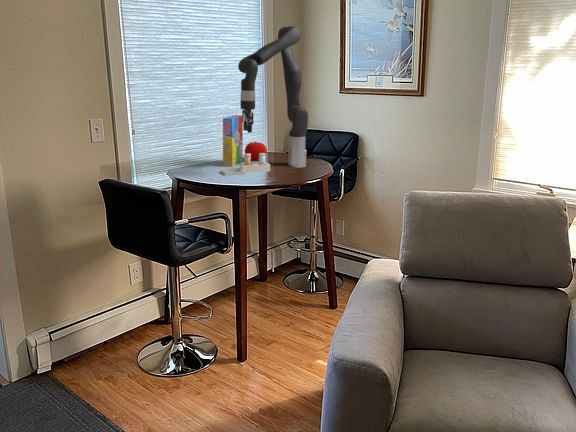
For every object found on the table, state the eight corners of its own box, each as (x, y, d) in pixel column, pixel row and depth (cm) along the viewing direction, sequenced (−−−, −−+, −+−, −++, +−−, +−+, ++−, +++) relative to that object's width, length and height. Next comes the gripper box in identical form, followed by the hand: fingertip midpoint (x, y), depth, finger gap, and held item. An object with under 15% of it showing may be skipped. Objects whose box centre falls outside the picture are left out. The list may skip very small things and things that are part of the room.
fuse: (264, 169, 291) (264, 152, 289) (265, 170, 288) (266, 154, 286) (258, 169, 290) (258, 153, 288) (259, 171, 287) (260, 154, 284)
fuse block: (266, 170, 294) (266, 162, 292) (270, 173, 287) (270, 164, 286) (239, 171, 289) (239, 163, 288) (242, 174, 283) (242, 165, 281)
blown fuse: (249, 170, 289) (249, 153, 286) (251, 171, 286) (251, 154, 283) (243, 170, 288) (243, 153, 285) (245, 171, 284) (245, 154, 282)
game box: (232, 168, 297) (231, 118, 289) (222, 168, 298) (222, 118, 290) (242, 162, 316) (242, 115, 309) (233, 161, 317) (233, 114, 310)
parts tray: (239, 172, 286) (239, 168, 286) (244, 176, 277) (244, 171, 277) (221, 173, 283) (221, 168, 283) (225, 177, 274) (225, 172, 274)
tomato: (242, 158, 327) (242, 140, 323) (262, 157, 332) (262, 139, 329) (249, 162, 316) (249, 143, 313) (269, 161, 322) (270, 142, 319)
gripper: (258, 100, 271) (258, 133, 276) (251, 98, 284) (251, 129, 288) (244, 100, 269) (243, 133, 273) (237, 98, 282) (237, 129, 286)
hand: (247, 131), depth 281 cm, fingers open, 8 cm apart
